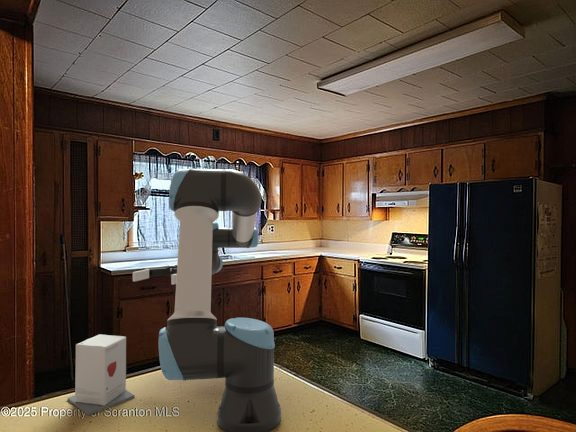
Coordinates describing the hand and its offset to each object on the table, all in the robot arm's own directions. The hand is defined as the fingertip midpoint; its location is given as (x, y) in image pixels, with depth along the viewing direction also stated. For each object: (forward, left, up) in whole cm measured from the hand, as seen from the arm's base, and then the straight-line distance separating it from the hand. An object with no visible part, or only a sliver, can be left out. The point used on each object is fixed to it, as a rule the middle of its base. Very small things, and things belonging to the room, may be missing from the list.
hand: (152, 278), depth 114 cm
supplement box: (0, +15, -30) cm, 33 cm away
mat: (0, +15, -30) cm, 34 cm away
